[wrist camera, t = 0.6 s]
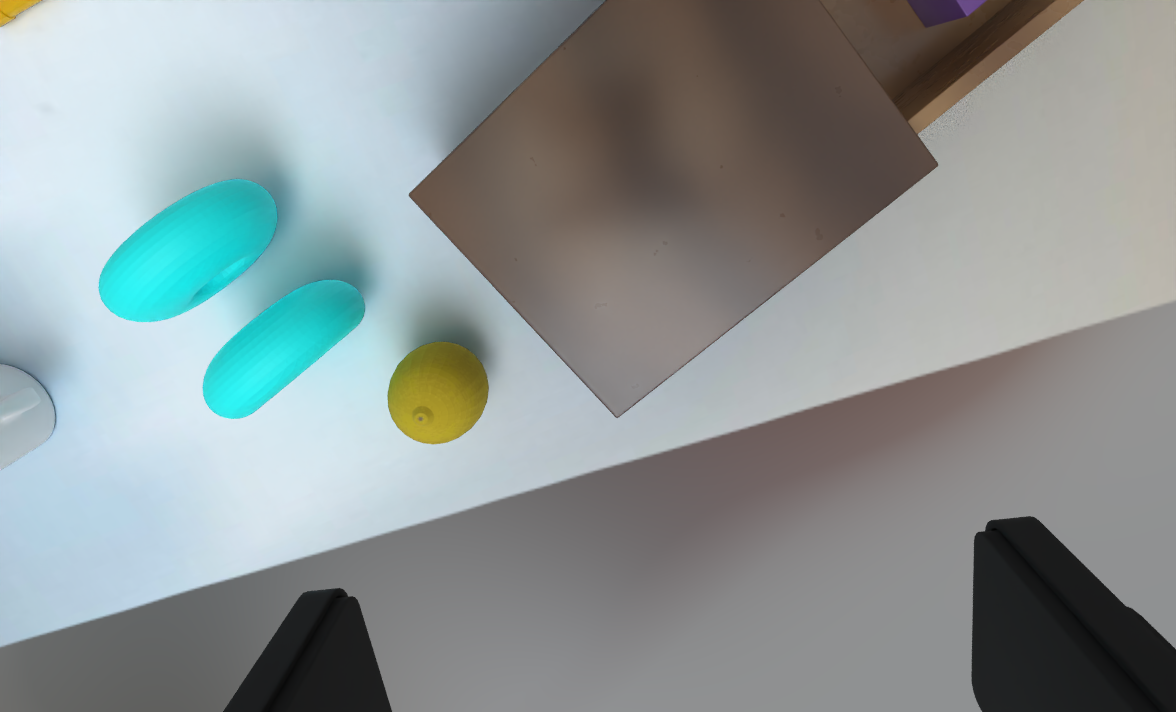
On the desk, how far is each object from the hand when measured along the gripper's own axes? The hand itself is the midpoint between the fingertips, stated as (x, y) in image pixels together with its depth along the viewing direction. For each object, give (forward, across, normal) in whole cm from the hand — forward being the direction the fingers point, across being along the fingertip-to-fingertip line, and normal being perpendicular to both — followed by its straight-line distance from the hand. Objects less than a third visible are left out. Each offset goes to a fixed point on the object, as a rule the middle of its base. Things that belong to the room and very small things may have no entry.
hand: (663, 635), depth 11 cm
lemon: (+33, +12, +6) cm, 36 cm away
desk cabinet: (+33, -2, -4) cm, 34 cm away
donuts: (+33, +22, -1) cm, 40 cm away
